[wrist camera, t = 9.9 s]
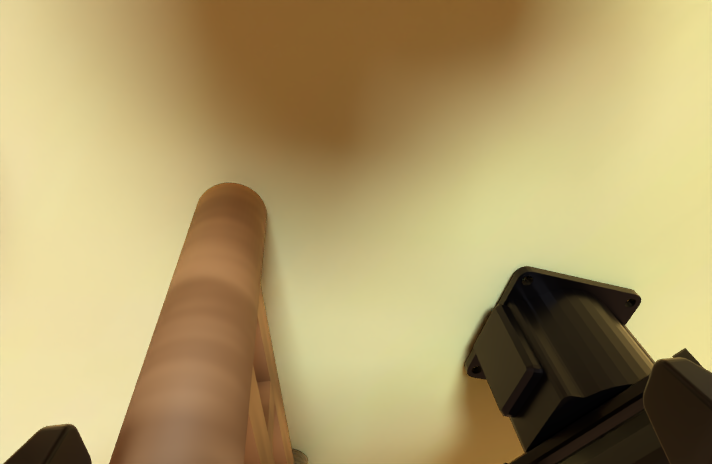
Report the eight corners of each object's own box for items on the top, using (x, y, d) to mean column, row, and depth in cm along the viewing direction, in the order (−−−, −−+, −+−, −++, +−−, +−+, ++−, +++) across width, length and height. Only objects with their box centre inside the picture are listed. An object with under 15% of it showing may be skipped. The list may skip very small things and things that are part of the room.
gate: (306, 453, 27) (314, 772, 17) (256, 459, 27) (234, 786, 17) (261, 179, 19) (223, 475, 9) (189, 186, 19) (68, 494, 9)
